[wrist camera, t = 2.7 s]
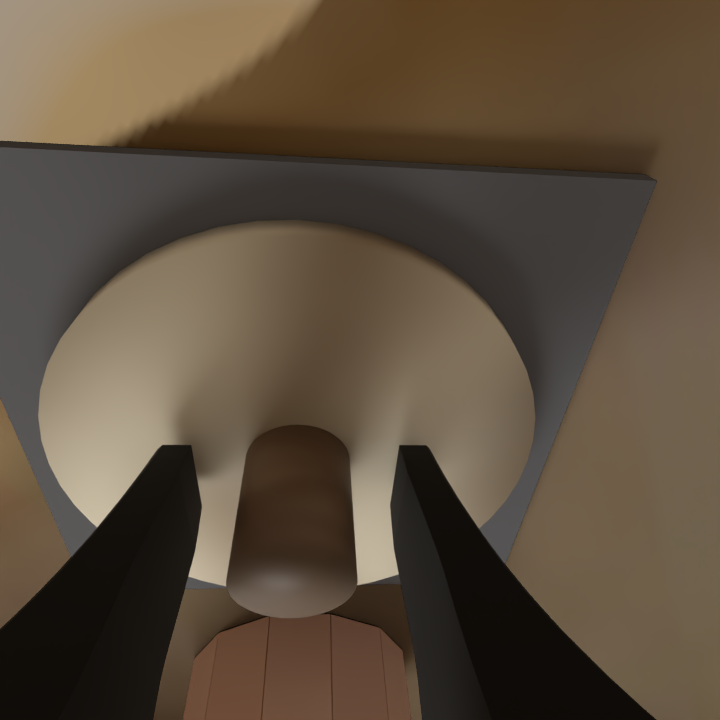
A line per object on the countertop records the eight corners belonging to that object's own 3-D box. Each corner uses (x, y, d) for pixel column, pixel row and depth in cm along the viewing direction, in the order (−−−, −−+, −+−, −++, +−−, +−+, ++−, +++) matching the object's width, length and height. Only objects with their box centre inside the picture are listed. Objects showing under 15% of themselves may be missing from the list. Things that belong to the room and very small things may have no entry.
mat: (645, 174, 10) (656, 181, 9) (494, 570, 17) (498, 581, 17) (-98, 135, 8) (-114, 141, 8) (91, 579, 16) (86, 591, 16)
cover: (586, 230, 10) (710, 340, 7) (475, 563, 16) (511, 697, 13) (-26, 208, 9) (-212, 325, 6) (115, 571, 15) (62, 718, 12)
